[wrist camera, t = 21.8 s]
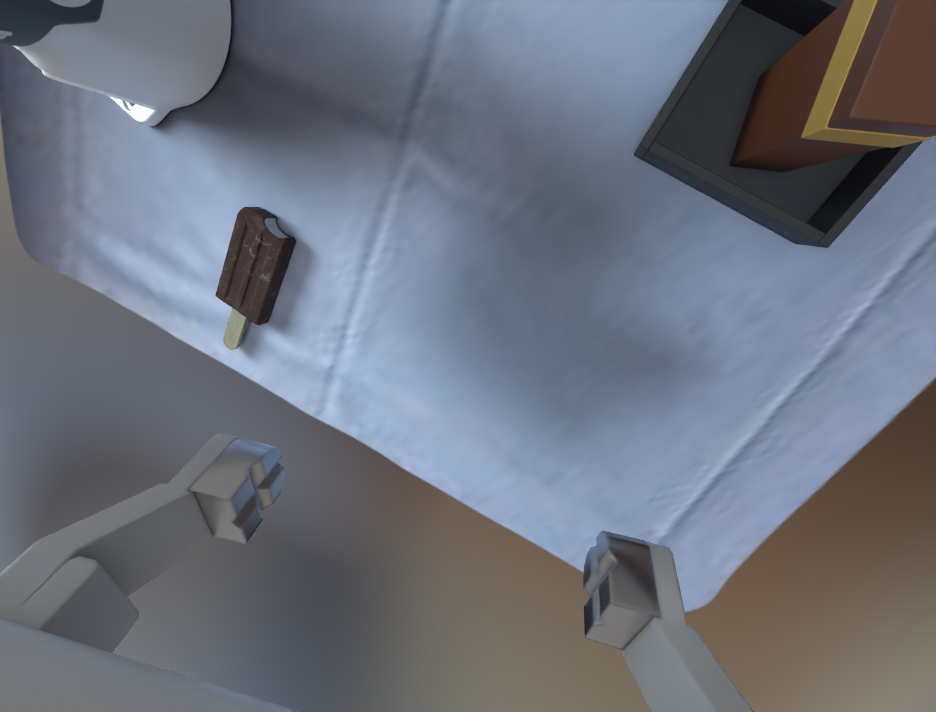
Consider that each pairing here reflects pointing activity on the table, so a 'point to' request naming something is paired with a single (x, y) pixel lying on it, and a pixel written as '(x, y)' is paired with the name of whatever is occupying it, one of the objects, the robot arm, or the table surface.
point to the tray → (722, 117)
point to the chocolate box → (846, 88)
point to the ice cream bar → (252, 271)
